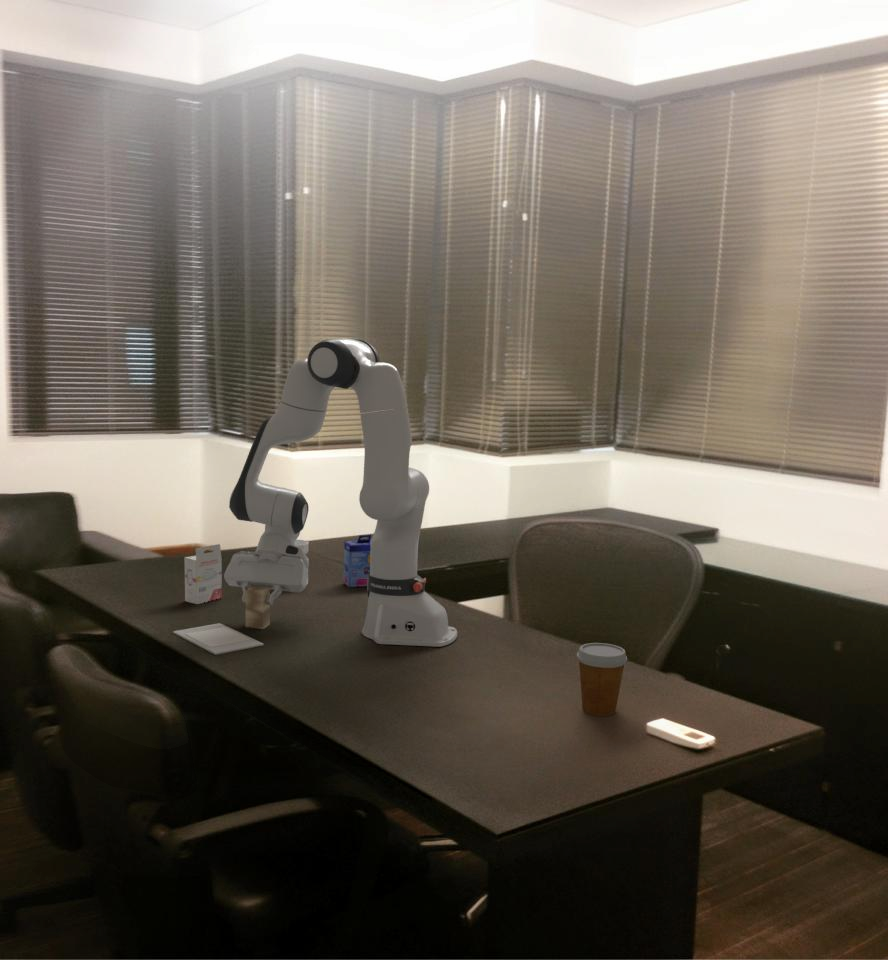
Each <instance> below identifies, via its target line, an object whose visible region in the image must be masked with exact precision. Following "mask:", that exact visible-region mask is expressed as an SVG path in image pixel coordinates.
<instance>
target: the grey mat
mask: <svg viewBox="0 0 888 960" xmlns="http://www.w3.org/2000/svg"><path fill="white" fill-rule="evenodd" d="M172 633H173V634H174V635H176V636H178V637H180V638H181V639H184V640H186V641H188V642H190V643H191V644H194V645H195V646H197V647H199V648H200V649H203V650H206V652H207V651H208V652H209V653H211V654H213V655H214V656H215V655H222V654H226V653H231V652H237V651H242V650H247V649H252V648H257V647H263V646H264V643H263V642H261V641H259V640H257V639H254V638H253V637H250V636H248V635H246V634H244V633H242V632H240V631H237V630H236V629H233V628H232V627H229V626H226V625H225V624H222V623H220V622H219V623H213V624H208V625H207V624H206V625H202V626H197V627H190V628H185V629H178V630H174V631H172Z"/></svg>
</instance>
